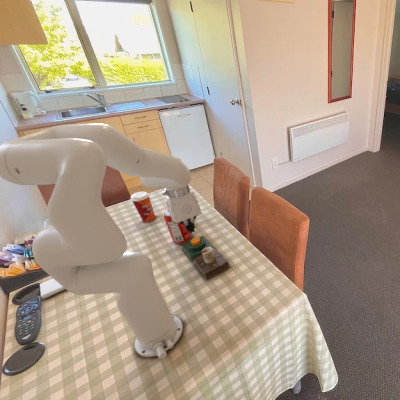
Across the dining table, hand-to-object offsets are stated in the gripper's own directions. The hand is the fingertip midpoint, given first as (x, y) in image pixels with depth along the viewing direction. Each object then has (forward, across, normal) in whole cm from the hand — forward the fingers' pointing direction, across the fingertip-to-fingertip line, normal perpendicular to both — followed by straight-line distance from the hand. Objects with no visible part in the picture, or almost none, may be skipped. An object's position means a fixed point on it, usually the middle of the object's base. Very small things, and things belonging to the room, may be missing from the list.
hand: (191, 231), depth 106 cm
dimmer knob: (+8, +1, -12) cm, 15 cm away
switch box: (+11, +1, +1) cm, 11 cm away
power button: (+7, +1, +1) cm, 7 cm away
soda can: (+10, -1, +13) cm, 17 cm away
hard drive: (+10, -48, +18) cm, 52 cm away
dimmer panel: (+11, +1, -12) cm, 16 cm away
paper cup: (+10, -7, +42) cm, 44 cm away
